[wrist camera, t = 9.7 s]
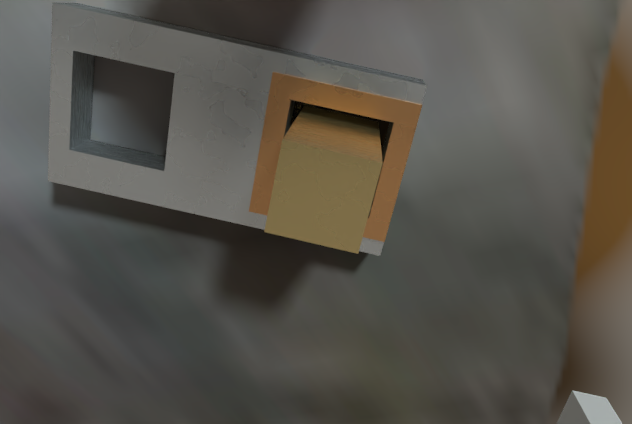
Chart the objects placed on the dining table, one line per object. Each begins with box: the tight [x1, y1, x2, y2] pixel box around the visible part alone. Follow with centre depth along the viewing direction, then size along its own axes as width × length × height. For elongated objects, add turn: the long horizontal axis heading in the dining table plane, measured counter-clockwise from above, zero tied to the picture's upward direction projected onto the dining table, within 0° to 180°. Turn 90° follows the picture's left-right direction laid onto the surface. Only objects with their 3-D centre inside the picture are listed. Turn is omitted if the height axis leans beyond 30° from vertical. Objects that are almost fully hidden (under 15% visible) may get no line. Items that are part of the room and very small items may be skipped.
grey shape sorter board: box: [48, 3, 427, 256], centre depth 31 cm, size 20×10×3 cm, turn 78°
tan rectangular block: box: [264, 105, 383, 254], centre depth 28 cm, size 4×4×9 cm
